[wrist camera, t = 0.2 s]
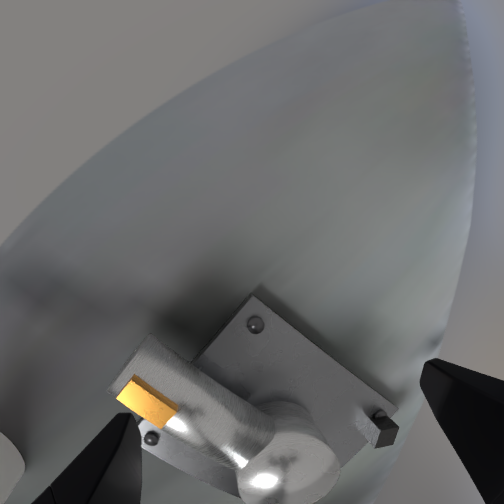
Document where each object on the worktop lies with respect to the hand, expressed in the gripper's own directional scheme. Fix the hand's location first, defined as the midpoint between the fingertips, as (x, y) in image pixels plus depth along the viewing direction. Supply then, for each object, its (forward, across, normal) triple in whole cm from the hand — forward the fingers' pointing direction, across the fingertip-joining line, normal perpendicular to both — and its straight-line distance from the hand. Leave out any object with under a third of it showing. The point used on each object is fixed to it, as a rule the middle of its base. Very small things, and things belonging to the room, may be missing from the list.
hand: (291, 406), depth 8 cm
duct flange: (+12, -1, +15) cm, 19 cm away
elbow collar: (+12, +2, +11) cm, 16 cm away
